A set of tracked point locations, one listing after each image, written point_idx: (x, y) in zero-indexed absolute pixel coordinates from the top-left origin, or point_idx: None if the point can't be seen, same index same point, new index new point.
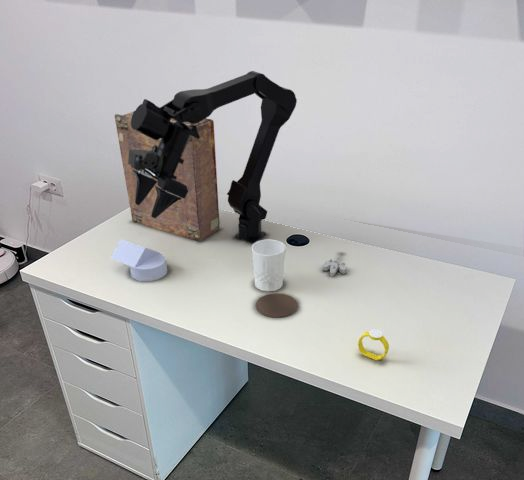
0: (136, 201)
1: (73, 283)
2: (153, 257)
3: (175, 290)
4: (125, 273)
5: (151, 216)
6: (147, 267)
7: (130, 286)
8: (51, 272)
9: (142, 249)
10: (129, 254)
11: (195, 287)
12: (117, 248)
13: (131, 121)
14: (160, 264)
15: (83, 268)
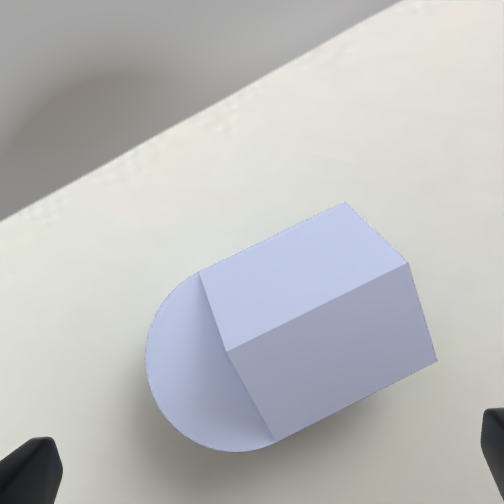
0: (499, 427)
1: (310, 75)
2: (245, 391)
3: (44, 394)
4: None
5: (41, 437)
6: (166, 326)
7: (175, 246)
8: (432, 24)
9: (235, 335)
10: (276, 273)
11: None
12: (365, 236)
13: None
14: (158, 394)
15: (408, 127)
